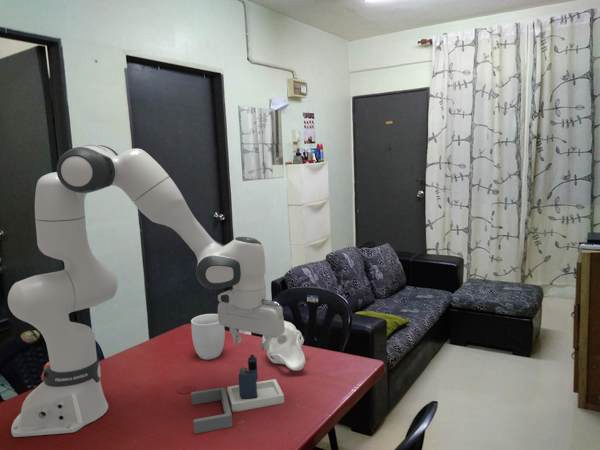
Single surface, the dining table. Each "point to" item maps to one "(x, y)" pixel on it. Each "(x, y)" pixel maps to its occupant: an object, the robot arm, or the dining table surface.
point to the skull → (287, 348)
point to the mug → (207, 336)
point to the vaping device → (248, 380)
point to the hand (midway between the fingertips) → (251, 345)
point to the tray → (266, 393)
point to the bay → (212, 421)
